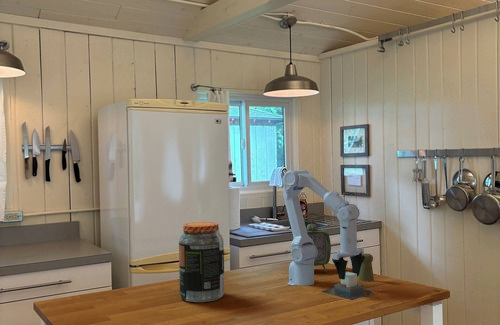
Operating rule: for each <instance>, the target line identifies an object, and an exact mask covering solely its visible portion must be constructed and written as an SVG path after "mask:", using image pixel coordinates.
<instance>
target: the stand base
mask: <svg viewBox="0 0 500 325" xmlns="http://www.w3.org/2000/svg"><path fill="white" fill-rule="evenodd" d="M320 292H321V293H325V294H327V295H328V294H329V295H332V296H335V297H339V298H343V299H346V300H349V301H354V300H357V299H360V298H363V297H367V296H371V295H373V294H377V293H378V292H377V291H373V290H370V289H365V288H364V285H363V284H361V283H357V286H354V287H351V288H349V287H346V284H342V283H341V282H338V283H336V284H333V288H328V289H325V290H321V291H320Z"/></svg>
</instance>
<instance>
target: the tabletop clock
mask: <svg viewBox="0 0 500 325" xmlns="http://www.w3.org/2000/svg"><path fill="white" fill-rule="evenodd" d="M311 215H313V216H317V217H318V220H316V221H314V219H310V220H307V219H306V217H307V216H311ZM303 218H304V222H305V223H308V224H307V225H306V230H307V234H308V236H309V237H310V238H311V239H312V240H313V243H314V245H315V246H316V248H317V251H318V254H317V256H316V258H315V261H314V267H316V266H322V267H323V272H324V273H328V271H329V270H328V269H327V268H326V267H325V265H328V264H329V262H330V259H331V253H332V252H331V250H332V246H331V244H332V243H331V237H330V235H329V233H328V232H327V231H326V230H323V229H320V228H319V227H318V225H317V224H316V223H318V222H319V221H320V220H321V216H320V215H319V214H318V213H315V212H310V213H306V214H305V215H303ZM302 245H303V244H302Z"/></svg>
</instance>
